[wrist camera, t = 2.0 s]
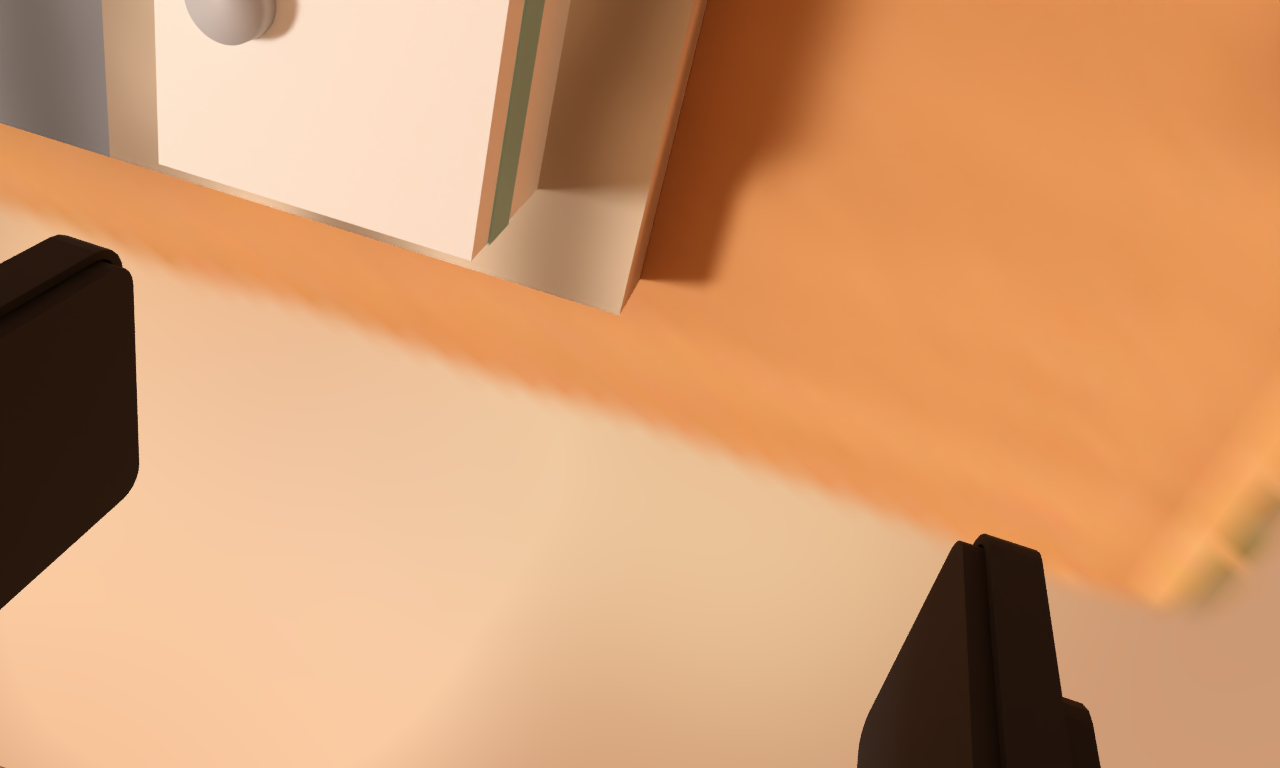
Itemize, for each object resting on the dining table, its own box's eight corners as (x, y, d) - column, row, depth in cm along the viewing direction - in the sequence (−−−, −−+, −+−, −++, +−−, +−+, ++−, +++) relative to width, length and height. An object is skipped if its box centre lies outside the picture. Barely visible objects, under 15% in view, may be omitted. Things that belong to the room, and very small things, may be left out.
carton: (603, -174, 24) (525, -159, 20) (538, 191, 29) (463, 273, 25) (275, -263, 25) (124, -269, 20) (265, 108, 30) (141, 173, 25)
